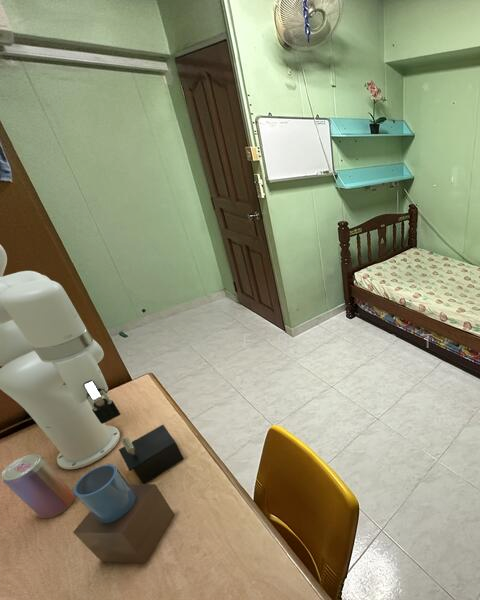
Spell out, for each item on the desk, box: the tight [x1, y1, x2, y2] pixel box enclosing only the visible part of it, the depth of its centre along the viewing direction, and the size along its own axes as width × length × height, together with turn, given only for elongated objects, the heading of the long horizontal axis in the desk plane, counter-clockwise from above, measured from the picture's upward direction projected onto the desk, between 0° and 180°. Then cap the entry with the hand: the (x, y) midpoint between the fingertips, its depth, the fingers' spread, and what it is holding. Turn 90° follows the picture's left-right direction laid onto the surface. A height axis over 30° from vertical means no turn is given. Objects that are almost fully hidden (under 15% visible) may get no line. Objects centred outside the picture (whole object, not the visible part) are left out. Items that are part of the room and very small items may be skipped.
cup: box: [73, 463, 136, 523], centre depth 59 cm, size 6×6×9 cm
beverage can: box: [0, 453, 75, 519], centre depth 68 cm, size 6×6×15 cm
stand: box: [72, 483, 176, 564], centre depth 64 cm, size 9×9×12 cm
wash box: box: [132, 443, 185, 484], centre depth 80 cm, size 9×8×6 cm
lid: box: [118, 424, 177, 472], centre depth 77 cm, size 10×8×4 cm
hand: (104, 406), depth 68 cm, fingers open, 9 cm apart
